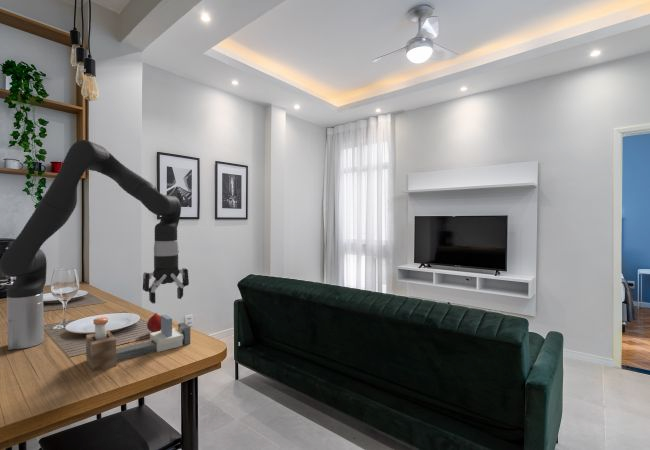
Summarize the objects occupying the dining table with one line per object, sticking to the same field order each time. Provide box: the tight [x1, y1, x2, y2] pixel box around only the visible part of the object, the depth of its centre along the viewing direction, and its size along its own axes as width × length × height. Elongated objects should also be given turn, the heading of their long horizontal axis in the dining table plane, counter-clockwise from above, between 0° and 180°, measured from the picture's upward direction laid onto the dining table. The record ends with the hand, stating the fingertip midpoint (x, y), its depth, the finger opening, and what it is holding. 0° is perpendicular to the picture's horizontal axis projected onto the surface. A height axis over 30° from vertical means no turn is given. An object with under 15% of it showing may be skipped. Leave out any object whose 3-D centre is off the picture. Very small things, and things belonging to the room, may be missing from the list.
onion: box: [146, 312, 161, 333], centre depth 126 cm, size 6×6×8 cm
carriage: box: [149, 314, 183, 353], centre depth 115 cm, size 8×9×10 cm
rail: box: [116, 322, 191, 363], centre depth 112 cm, size 23×6×6 cm, turn 134°
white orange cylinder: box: [93, 317, 109, 340], centre depth 101 cm, size 4×4×8 cm
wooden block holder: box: [85, 330, 117, 373], centre depth 102 cm, size 6×10×8 cm, turn 44°
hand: (166, 300), depth 114 cm, fingers open, 8 cm apart
